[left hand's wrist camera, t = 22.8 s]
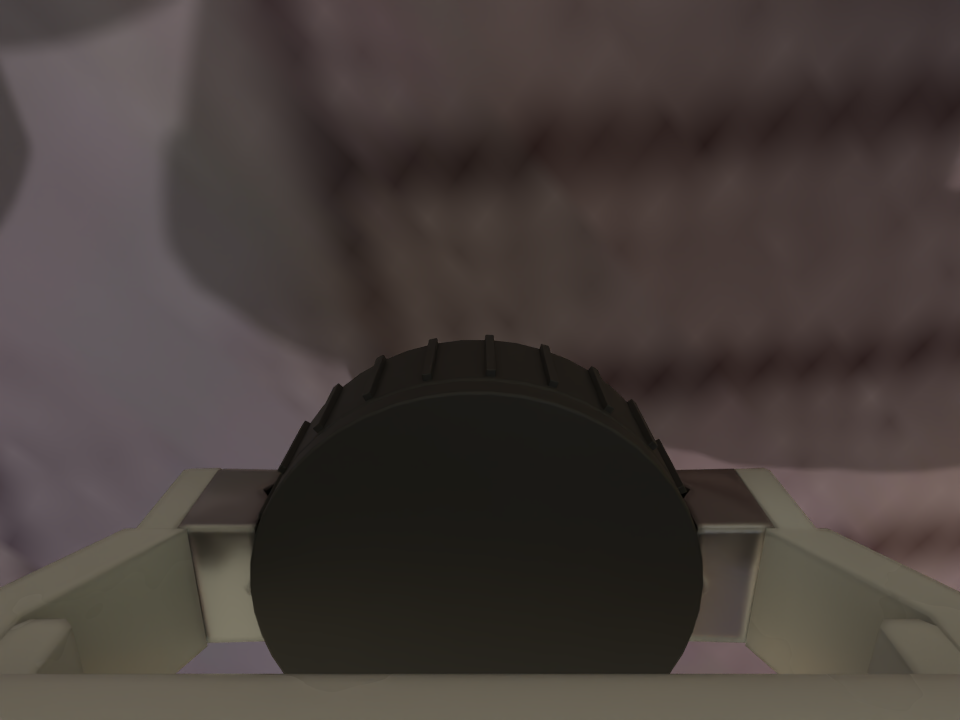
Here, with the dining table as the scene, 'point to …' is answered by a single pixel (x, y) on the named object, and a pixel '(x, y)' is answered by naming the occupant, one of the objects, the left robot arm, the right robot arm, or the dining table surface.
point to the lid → (476, 525)
